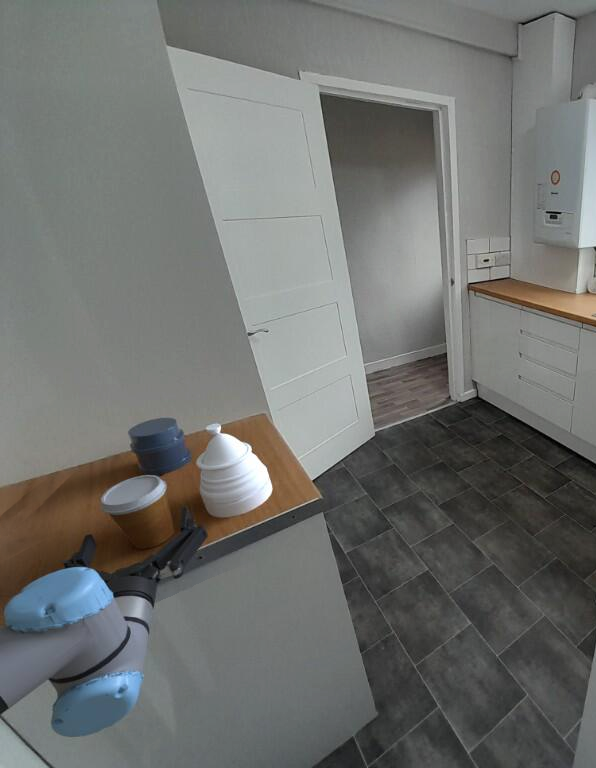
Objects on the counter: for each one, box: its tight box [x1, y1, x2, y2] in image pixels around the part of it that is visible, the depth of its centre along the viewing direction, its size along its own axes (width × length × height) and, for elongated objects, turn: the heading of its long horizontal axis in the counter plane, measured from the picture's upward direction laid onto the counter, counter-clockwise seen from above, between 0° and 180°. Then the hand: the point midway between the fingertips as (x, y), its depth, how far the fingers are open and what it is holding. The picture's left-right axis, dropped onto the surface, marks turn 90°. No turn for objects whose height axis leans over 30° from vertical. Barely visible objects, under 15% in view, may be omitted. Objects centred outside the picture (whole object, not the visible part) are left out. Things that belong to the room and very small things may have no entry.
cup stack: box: [127, 417, 193, 477], centre depth 102 cm, size 10×10×11 cm
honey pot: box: [196, 423, 273, 518], centre depth 89 cm, size 13×13×18 cm
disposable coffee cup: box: [100, 474, 176, 550], centre depth 79 cm, size 10×10×12 cm
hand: (141, 525), depth 76 cm, fingers open, 13 cm apart
